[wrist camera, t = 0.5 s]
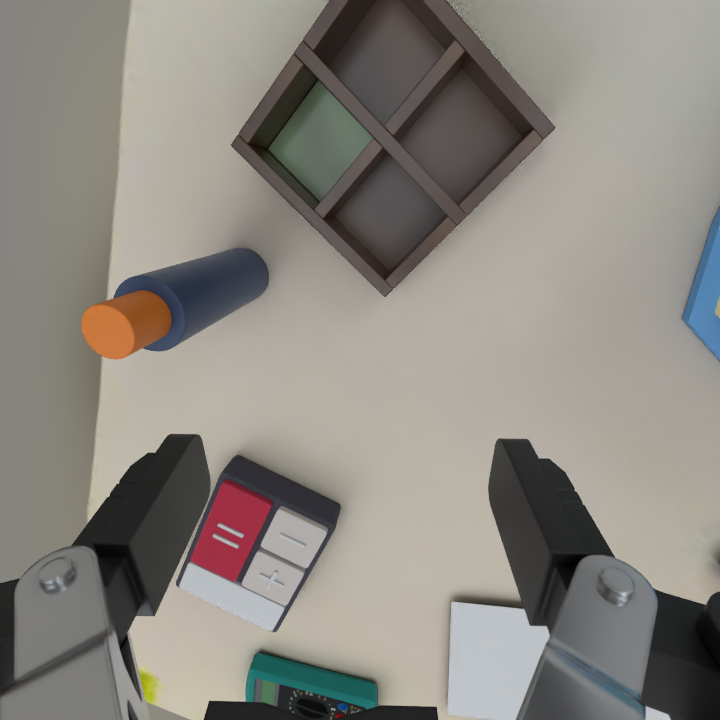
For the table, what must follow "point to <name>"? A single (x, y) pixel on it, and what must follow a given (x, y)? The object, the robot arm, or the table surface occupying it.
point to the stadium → (707, 293)
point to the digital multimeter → (307, 689)
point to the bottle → (173, 303)
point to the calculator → (257, 543)
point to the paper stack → (495, 661)
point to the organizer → (390, 130)
